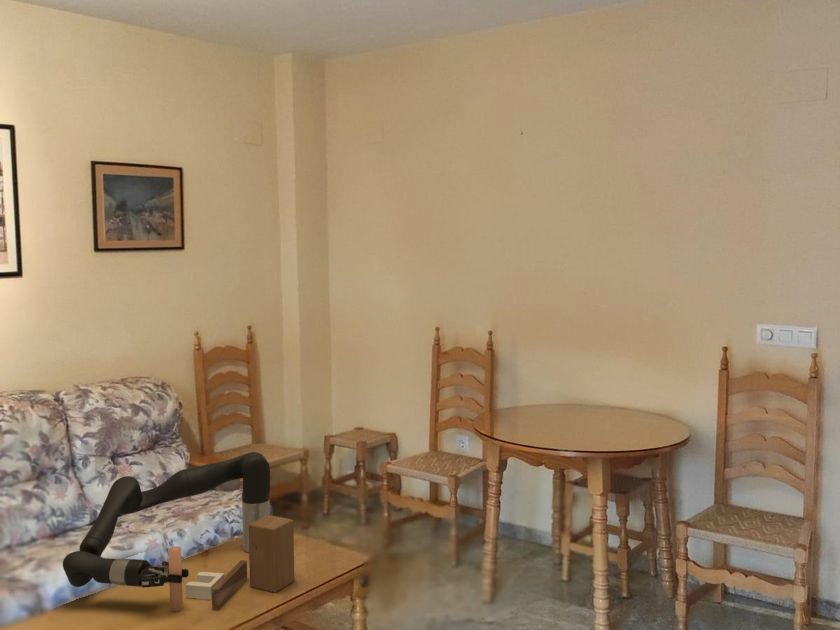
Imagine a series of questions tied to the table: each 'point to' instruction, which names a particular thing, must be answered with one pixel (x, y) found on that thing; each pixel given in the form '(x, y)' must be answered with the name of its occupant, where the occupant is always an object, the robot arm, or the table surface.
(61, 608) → the table surface
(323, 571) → the table surface
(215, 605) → the wall
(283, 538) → the wooden block
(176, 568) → the dowel
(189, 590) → the notched block
